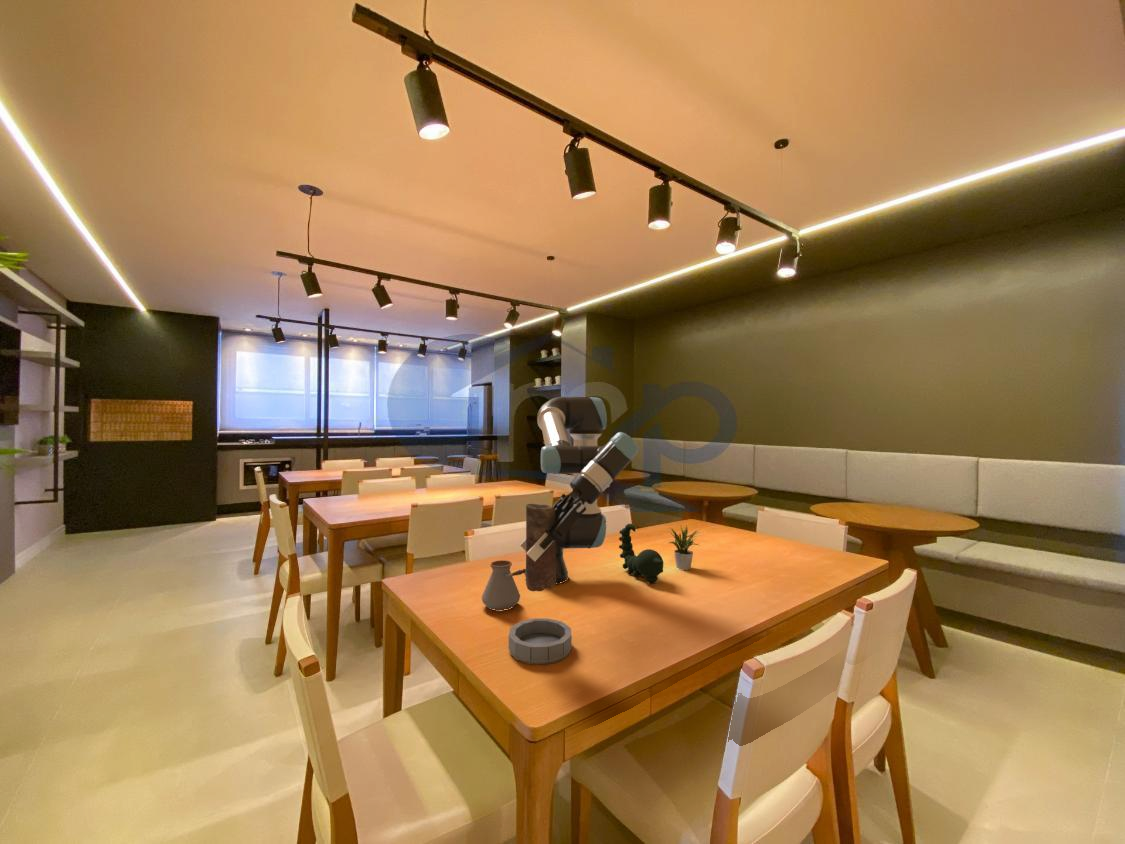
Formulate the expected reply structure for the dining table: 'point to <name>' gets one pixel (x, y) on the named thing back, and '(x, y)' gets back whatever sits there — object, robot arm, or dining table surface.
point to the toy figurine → (639, 558)
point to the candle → (544, 567)
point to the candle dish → (540, 641)
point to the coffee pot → (501, 587)
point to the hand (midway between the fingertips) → (527, 552)
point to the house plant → (683, 549)
